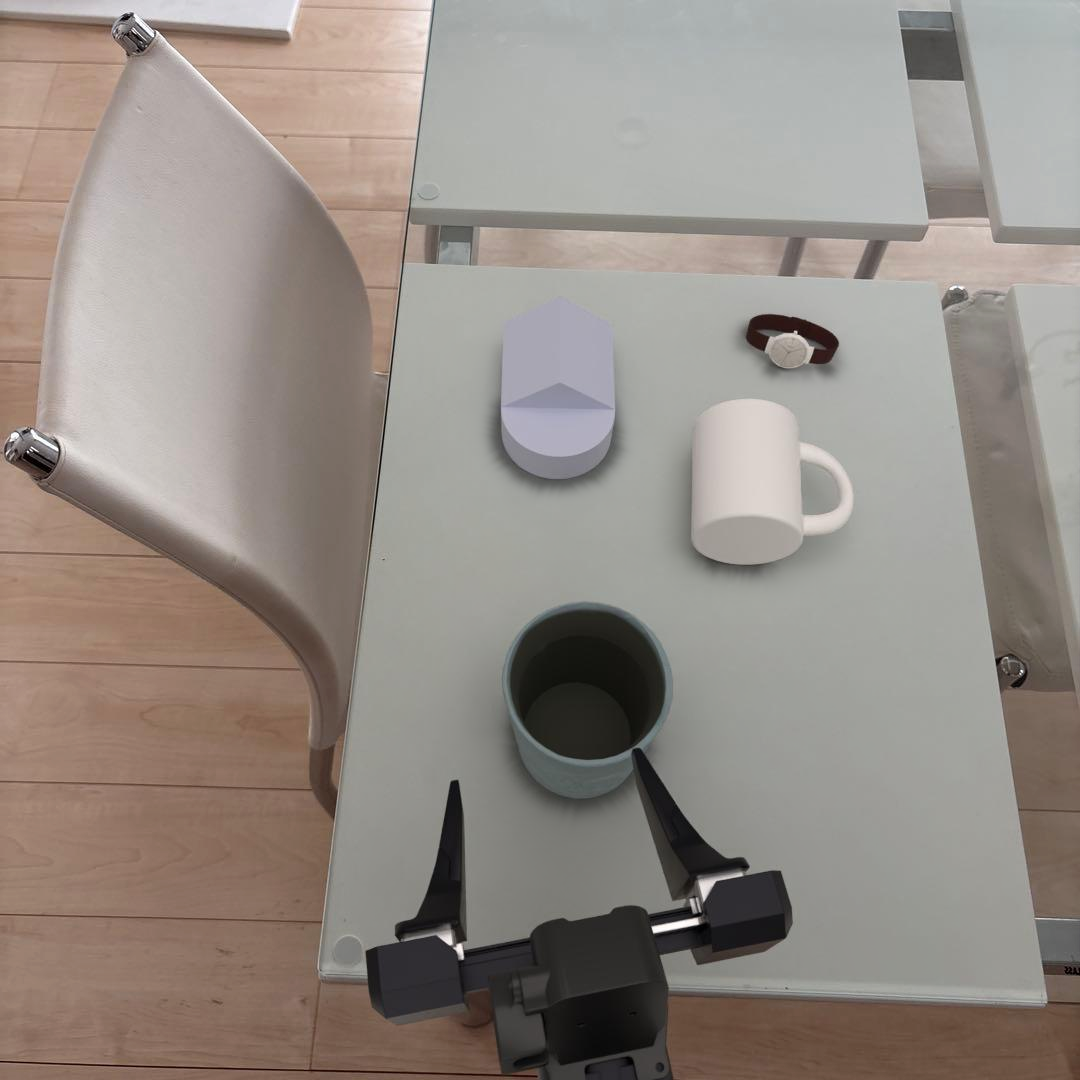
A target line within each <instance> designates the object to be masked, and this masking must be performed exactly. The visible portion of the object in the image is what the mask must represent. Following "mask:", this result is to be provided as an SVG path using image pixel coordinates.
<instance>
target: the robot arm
mask: <svg viewBox="0 0 1080 1080" xmlns="http://www.w3.org/2000/svg"><path fill="white" fill-rule="evenodd" d="M631 758H632V763H633V774H634V780H635V784H636V788H637V792H638V795H639V798H640V801H641V805H642V807H643V811H644V814H645V817H646V820H647V824H648V827H649V830H650V833H651V836H652V840H653V844H654V847H655V851H656V854H657V856H658V860H659V863H660V866H661V869H662V872H663V875H664V878H665V882H666V886H667V888H668V891H669V895H670V898H671V901H672V902H676V901H681V900H685V902H684V903H683V904H682V906H683V907H679V908H673V909H669V910H663V911H658V912H652V913H648V910H647V909H646V908H644V907H642V906H639V905H636V904H635V905H634V904H633V905H632V904H631V905H629V904H628V905H622V906H616V907H614V908H613V909H611V911H610V912H609V913H606V914H601V915H596V916H595V915H594V916H590V917H586V918H580V919H575V920H568V919H567V918H565V917H561V918H554V919H550V920H547V921H545V922H542V923H540V924H538V925H536V927H534V929H533V930H532V931H531V933H530V934H529V937H525V938H519V939H515V940H509V941H505V942H499V943H495V944H489V945H485V946H478V947H474V948H468V949H465V947H464V943H465V942H468V925H467V922H468V921H467V920H468V919H467V883H466V882H467V881H466V880H467V878H466V841H465V840H466V835H465V834H466V833H465V832H466V831H465V811H464V805H463V799H462V792H461V785H460V780H459V779H452V780H451V781H449V782H450V783H449V788H448V794H447V798H446V803H445V804H446V805H445V810H444V815H443V820H442V826H441V832H440V838H439V842H438V843H439V844H438V849H437V853H436V854H437V855H436V860H435V863H434V867H433V871H432V873H431V877H430V880H429V883H428V885H427V890H426V893H425V896H424V897H423V900H422V902H421V905H420V907H419V909H418V912H417V913H416V916H415V917H413V918H411V919H405V920H402V921H399V922H397V923H395V925H394V937H395V938H396V939H397V941H398V942H393V943H388V944H382V945H377V946H374V947H372V948H369V949H367V950H365V951H364V952H365V963H366V966H365V967H366V975H367V985H368V986H367V990H368V995H369V1000H370V1005H371V1008H372V1009H373V1010H374V1011H375V1012H377V1013H378V1014H379V1015H381V1016H382V1017H383V1018H384V1019H385V1020H386V1021H388V1022H390V1023H392V1024H394V1025H395V1026H397V1027H401V1026H404V1025H409V1024H414V1023H420V1022H425V1021H430V1020H434V1019H438V1018H444V1017H448V1016H453V1015H458V1014H463V1013H469V1012H470V1004H469V994H475V993H479V992H485V991H488V992H489V1000H490V1007H491V1014H492V1015H491V1016H492V1022H493V1028H494V1029H493V1030H494V1036H495V1043H496V1050H497V1056H498V1062H499V1068H500V1074H501V1075H503V1076H506V1075H511V1074H517V1073H520V1072H526V1071H529V1070H534V1069H535V1070H536V1075H537V1076H536V1077H537V1080H675V1079H674V1073H673V1068H672V1066H671V1065H672V1064H671V1061H670V1060H671V1059H670V1055H669V1052H668V1047H667V1039H668V1038H667V1037H668V1023H669V1022H668V1021H669V996H670V995H669V993H670V987H669V982H668V980H667V976H666V973H665V969H664V966H663V965H664V964H663V962H662V958H661V956H664V955H669V954H674V953H679V952H683V951H684V952H685V951H690V952H691V955H692V957H693V959H694V961H695V964H696V966H702V965H707V964H712V963H716V962H721V961H726V960H730V959H736V958H741V957H746V956H752V955H755V954H761V953H765V952H767V951H768V950H770V949H771V948H773V947H775V946H777V945H779V943H781V942H783V941H784V940H786V939H787V937H788V935H789V933H790V930H791V928H792V926H793V924H794V920H793V919H794V918H793V906H792V903H791V900H790V897H789V893H788V889H787V886H786V883H785V879H784V876H783V873H782V870H776V869H775V870H772V869H771V870H767V871H762V872H757V873H756V872H755V873H750V874H747V873H746V872H747V871H749V869H750V868H751V865H750V864H749V862H748V861H747V859H746V858H745V857H744V856H736V857H730V858H729V857H726V856H724V855H723V854H721V852H719V851H718V850H717V849H715V848H714V847H713V846H711V845H710V844H709V843H708V842H707V841H706V840H705V839H704V838H703V837H702V836H701V834H700V833H699V832H698V831H697V830H696V828H694V826H693V824H691V823H690V821H689V820H688V818H687V817H686V816H685V815H684V813H683V811H682V810H681V808H680V807H679V806H678V804H677V802H676V801H675V799H674V797H673V796H672V794H670V792H669V790H668V789H667V787H666V785H665V783H664V782H663V780H662V779H661V778H660V776H659V774H658V773H657V771H656V769H655V768H654V767H653V765H652V763H651V762H650V761H649V759H648V757H647V755H646V753H644V752H643V751H642V749H641V748H634V749H633V750H632V753H631Z"/></svg>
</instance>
